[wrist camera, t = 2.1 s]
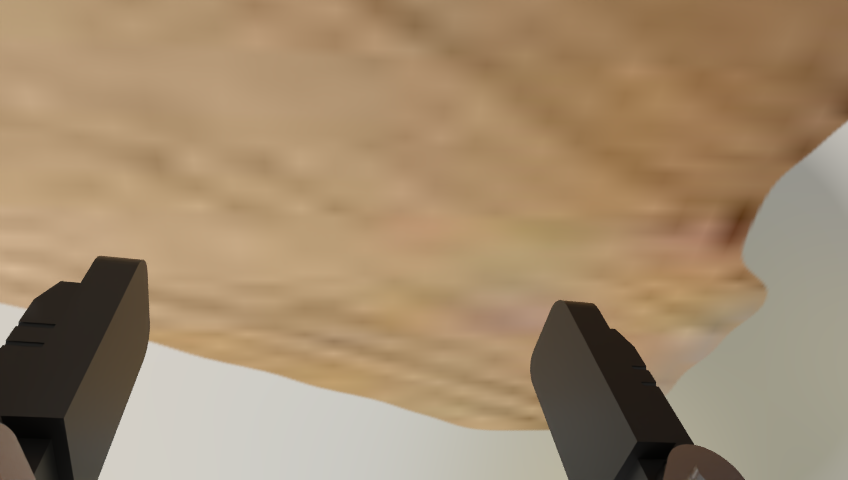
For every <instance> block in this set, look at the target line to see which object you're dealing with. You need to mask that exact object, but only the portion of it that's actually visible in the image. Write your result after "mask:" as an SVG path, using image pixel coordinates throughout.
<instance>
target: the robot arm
mask: <svg viewBox="0 0 848 480" xmlns="http://www.w3.org/2000/svg"><path fill="white" fill-rule="evenodd" d="M149 331H150V319H149V297H148V274H147V265H146V262H145V261H144V260H139V259H128V258H118V257H107V256H98V257H97V258H96V259H95V260H94V262H93V263H92V265H91V267H90V268H89V270H88V272H87V273H86V275H85V277H84V278H83V280H82V282H81V283H75V282H63V281H60V282H59V283H57V284H56V285H54V286H53V287H51V288H50V289H49V290H47V291H46V292H44V293H43V294H41V295H40V296H38V297H37V298H35V299H34V300H33V302H32V303H31V304H30V306H29V307H28V309H27V310H26V312H25V313H24V315H23V316H22V318H21V319H20V321H19V325H18V326H16V327H15V328H14V329H13V331H12V332H11V334H10V335H9V337H8V338H7V339H6V344H5V345H3V346H2V347H1V348H0V480H98V477H99V475H100V472H101V469H102V466H103V464H104V461H105V459H106V456H107V454H108V451H109V449H110V446H111V443H112V441H113V438H114V436H115V433H116V430H117V428H118V425H119V422H120V420H121V417H122V415H123V412H124V410H125V407H126V404H127V402H128V399H129V396H130V394H131V391H132V388H133V386H134V384H135V381H136V378H137V376H138V373H139V370H140V368H141V365H142V363H143V360H144V357H145V353H146V350H147V345H148V340H149ZM530 373H531V380H532V383H533V386H534V389H535V391H536V394H537V397H538V399H539V402H540V405H541V407H542V410H543V413H544V415H545V418H546V421H547V423H548V426H549V429H550V431H551V434H552V437H553V439H554V442H555V444H556V447H557V450H558V453H559V455H560V458H561V461H562V463H563V466H564V468H565V471H566V474H567V477H568V479H569V480H745V479H744V478H743V477H742V475H741V474H740V473H739V472H738V471H737V469H736V468H735V467H734V466H733V465H731V464H730V463H729V462H728V461H727V460H725V459H724V458H722V457H721V456H720V455H718V454H716V453H715V452H713V451H711V450H708V449H706V448H704V447H701V446H696V445H694V443H693V442H692V440H691V439H690V437H689V436H688V434H687V432H686V430H685V429H684V427H683V425H682V424H681V422H680V421H679V419H678V417H677V416H676V414H675V412H674V411H673V409H672V407H671V406H670V404H669V403H668V401H667V399H666V398H665V396H664V394H663V393H662V391H661V390H660V388H659V387H656V381H655V380H654V378H653V376H652V375H651V373H650V372H649V370H646V365H645V363H644V362H643V360H642V359H641V357H640V355H639V354H638V352H637V350H636V349H635V347H634V346H633V345H632V344H631V343H630V342H629V341H627V340H626V339H625V338H624V337H623V336H622V335H621V334H620V333H619V332H618V331H617V330H616V329H610V328H609V326H608V325H607V323H606V321H605V319H604V318H603V316H602V314H601V313H600V311H599V309H598V308H597V306H596V305H595V304H593V303H584V302H573V301H563V300H559V301H557V302H555V303H554V305H553V306H552V308H551V310H550V313H549V315H548V318H547V320H546V322H545V325H544V327H543V330H542V332H541V334H540V337H539V339H538V341H537V344H536V346H535V349H534V351H533V354H532V357H531V365H530Z"/></svg>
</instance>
